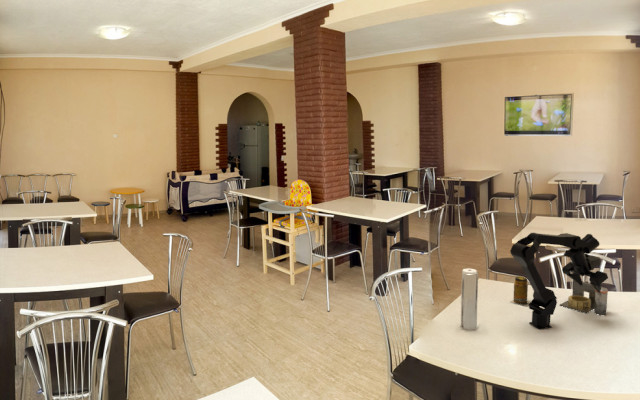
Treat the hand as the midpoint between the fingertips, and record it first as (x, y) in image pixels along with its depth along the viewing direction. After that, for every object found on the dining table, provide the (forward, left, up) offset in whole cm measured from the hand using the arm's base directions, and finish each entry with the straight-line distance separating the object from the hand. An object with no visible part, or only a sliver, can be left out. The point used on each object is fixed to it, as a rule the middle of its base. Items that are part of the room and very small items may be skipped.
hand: (590, 288), depth 203 cm
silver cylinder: (-55, +6, -13) cm, 57 cm away
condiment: (-16, +23, -13) cm, 31 cm away
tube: (+8, +1, -13) cm, 15 cm away
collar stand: (+7, +12, -13) cm, 19 cm away
